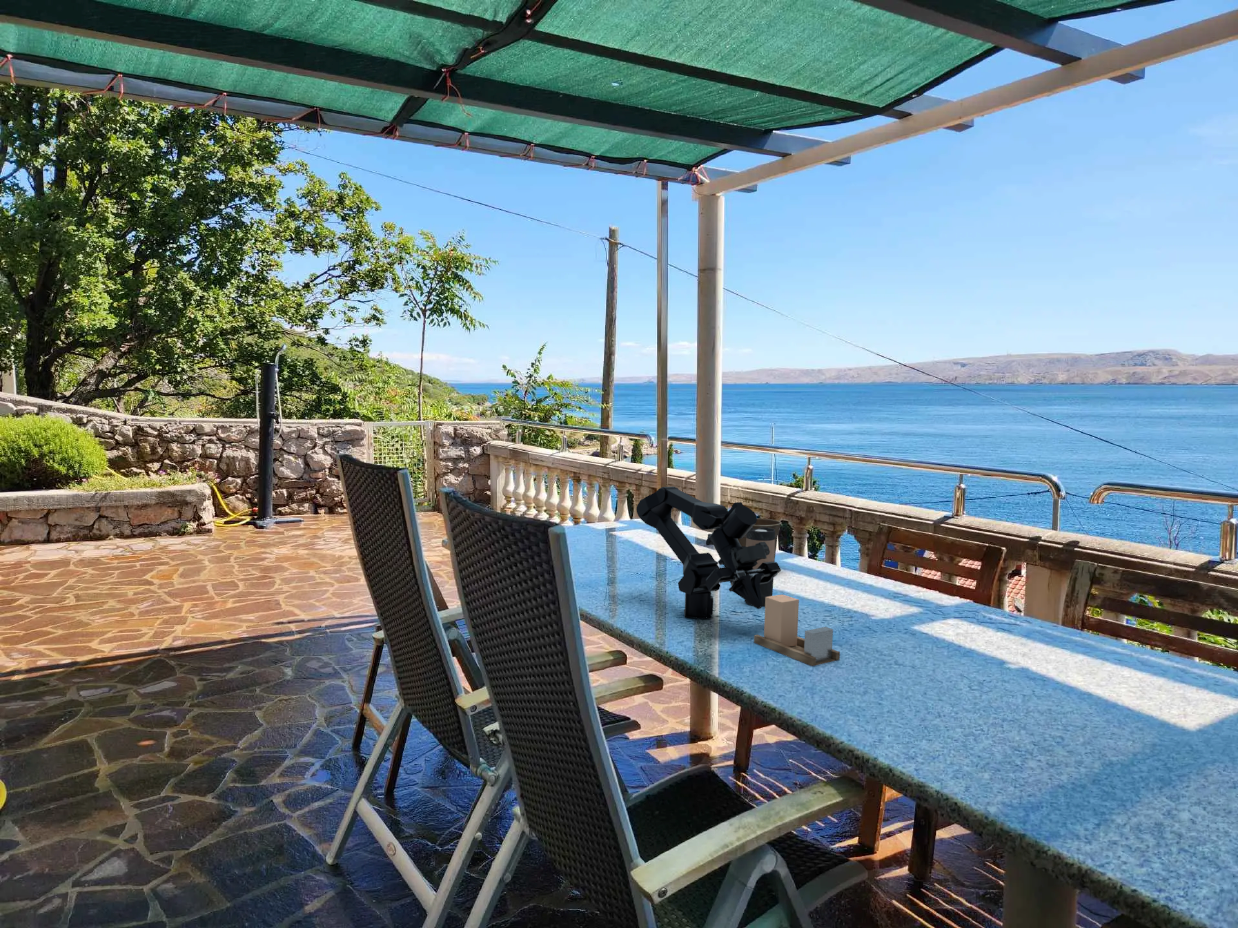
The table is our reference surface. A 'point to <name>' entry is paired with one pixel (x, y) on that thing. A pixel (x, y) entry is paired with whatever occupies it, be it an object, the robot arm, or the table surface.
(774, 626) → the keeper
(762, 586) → the travel mug
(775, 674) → the table surface
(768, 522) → the plant pot
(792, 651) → the rail
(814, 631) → the grey square block
